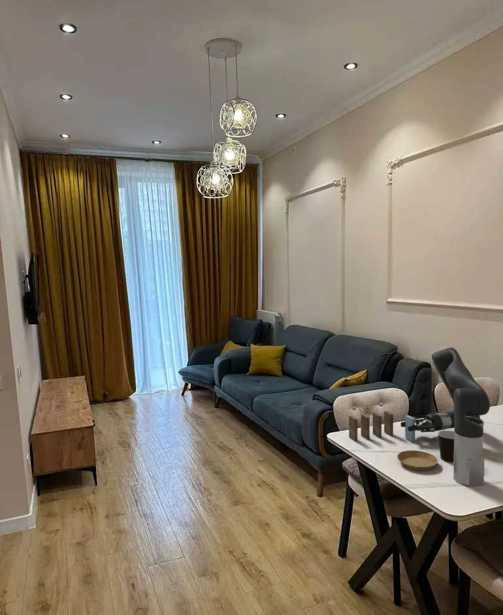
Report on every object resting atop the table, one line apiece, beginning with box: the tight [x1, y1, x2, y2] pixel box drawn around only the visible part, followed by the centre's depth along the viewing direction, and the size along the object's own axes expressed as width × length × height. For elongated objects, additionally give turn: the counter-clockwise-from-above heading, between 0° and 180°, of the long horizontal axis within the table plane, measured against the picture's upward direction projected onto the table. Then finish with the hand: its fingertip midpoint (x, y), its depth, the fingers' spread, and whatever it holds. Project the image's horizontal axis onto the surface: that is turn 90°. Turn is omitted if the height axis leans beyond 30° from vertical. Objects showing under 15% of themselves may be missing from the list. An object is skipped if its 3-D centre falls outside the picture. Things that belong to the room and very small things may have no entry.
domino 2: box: [360, 413, 371, 440], centre depth 201 cm, size 2×5×10 cm, turn 16°
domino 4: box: [383, 410, 394, 437], centre depth 205 cm, size 2×5×10 cm, turn 16°
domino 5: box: [404, 415, 416, 442], centre depth 197 cm, size 2×5×10 cm, turn 16°
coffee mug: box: [437, 429, 454, 463], centre depth 178 cm, size 12×9×10 cm
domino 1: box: [348, 415, 359, 442], centre depth 200 cm, size 2×5×10 cm, turn 16°
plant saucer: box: [396, 449, 438, 471], centre depth 174 cm, size 15×15×3 cm
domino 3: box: [372, 412, 383, 438], centre depth 203 cm, size 2×5×10 cm, turn 16°
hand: (404, 426), depth 196 cm, fingers closed on domino 5, 4 cm apart
